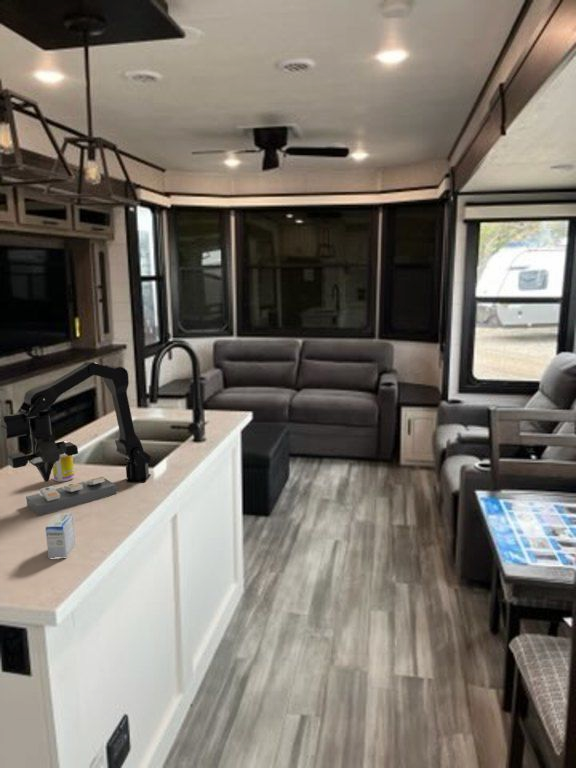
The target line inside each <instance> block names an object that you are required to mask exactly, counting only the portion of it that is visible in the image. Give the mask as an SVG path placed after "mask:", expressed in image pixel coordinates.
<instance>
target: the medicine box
mask: <svg viewBox="0 0 576 768" xmlns="http://www.w3.org/2000/svg"><path fill="white" fill-rule="evenodd" d="M74 524H75V523H74V516H73V514H72V513H56V514H54V516H53V517H52V519H51V520H50V521H49V522H48V524H47V525H46V526H45V536H46V545H47V555H48V556H47V557H48V559H49V558H55V557H67V558H68V556H69V555H70V553H71V551H72V549H73V548H72V547H74V546H75V545H76V536H75V534H76V533H75V525H74ZM73 545H74V546H73ZM70 550H71V551H70ZM69 552H70V553H69ZM68 554H69V555H68ZM67 555H68V556H67Z"/></svg>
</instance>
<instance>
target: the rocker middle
mask: <svg viewBox="0 0 576 768" xmlns="http://www.w3.org/2000/svg"><path fill="white" fill-rule="evenodd" d="M77 483H78V482H74V483H70V484H66V485H64V486H63V487H64V490H67V491H70V492H73V491H76V490H80V489H83V485H81V484H77Z"/></svg>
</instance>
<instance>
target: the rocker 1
mask: <svg viewBox="0 0 576 768" xmlns="http://www.w3.org/2000/svg"><path fill="white" fill-rule="evenodd" d="M56 489H57V488H55V487H54V486H53V485H51V486H47V487H43V488H40V489H39V490H40V492H39V493H41V494H42V495H43V496H44V497H45V499H46V500H47V501H51V500H54V499H58V498H60V494H59V493H58V492H57V491H56Z"/></svg>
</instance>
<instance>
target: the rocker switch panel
mask: <svg viewBox="0 0 576 768" xmlns="http://www.w3.org/2000/svg"><path fill="white" fill-rule="evenodd" d="M98 478H104V480H105V482H101V483H97V484H93V485H87V483H86V481H90V480H93V479H94V478H93V479H88V480H85V481H81V482H76V483H77V484H81V485H83V489H80V490H76V491H73V492H70V491H67V490H64V486H62V487H61V486H60V487H59V488H55V489H56V491H57V492H58V493H59V494H60V498H58V499H54V500H51V501H47V500H46V499H45V497H44V496H43V495H42V494H41V493H40V492H39V493H35V494H32V495H28V496H26V498H25V499H26V505H27V507H28V508H29V509H30V510H31V511H32V512H33V513H35V515H36V516H38V517H40V516H43V515H48V514H51V513H54V512H57V511H61V510H65V509H68V508H71V507H74V506H78V505H81V504H85V503H89V502H93V501H95V500H99V498H100V499H103V498H106V497H105V496H107V497H109V496H108V495H110V496H113V495H112V494H114V495H117V485H116V484H115V483H114V482H112V481H110V480H109V479H107V478H106V477H104V476H100V477H96V478H95V479H98ZM102 497H103V498H102Z"/></svg>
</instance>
